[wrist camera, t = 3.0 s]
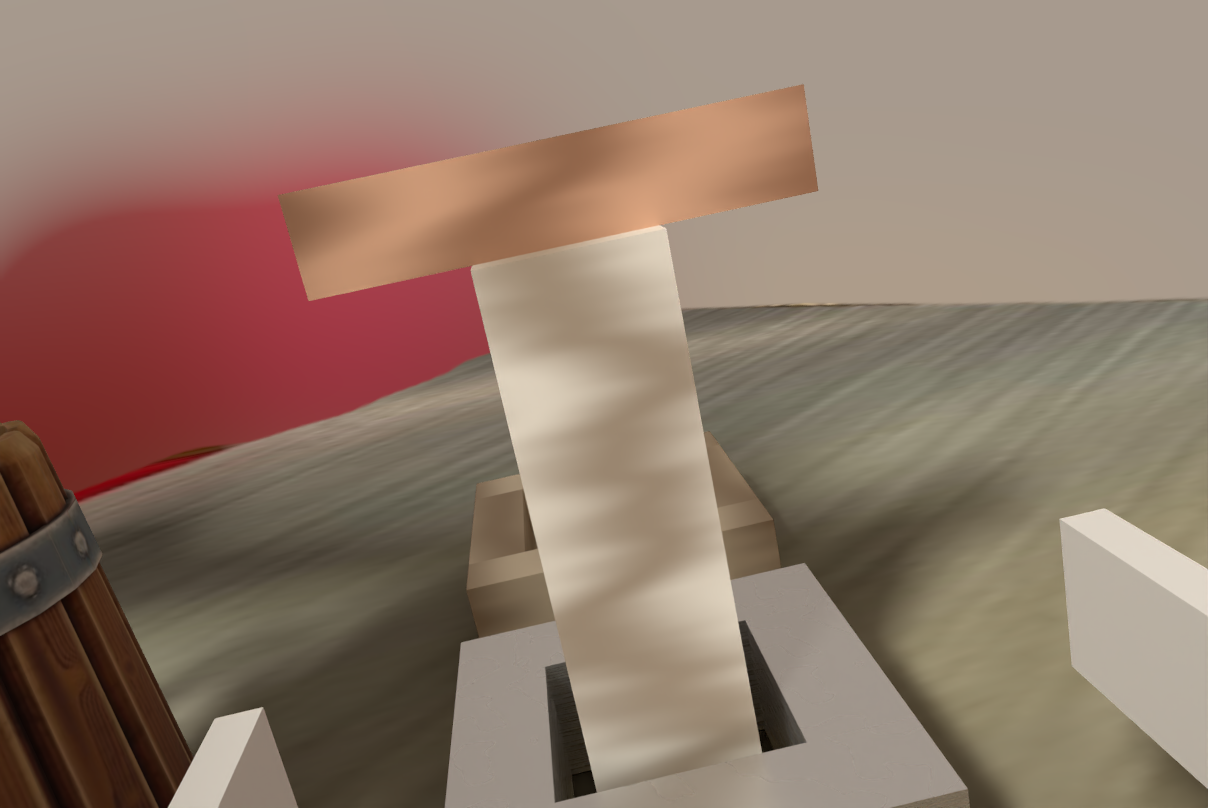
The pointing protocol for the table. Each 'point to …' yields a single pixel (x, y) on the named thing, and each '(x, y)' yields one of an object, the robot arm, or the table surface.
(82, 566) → the mug
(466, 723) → the plate
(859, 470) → the table surface
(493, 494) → the block
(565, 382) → the t-key
